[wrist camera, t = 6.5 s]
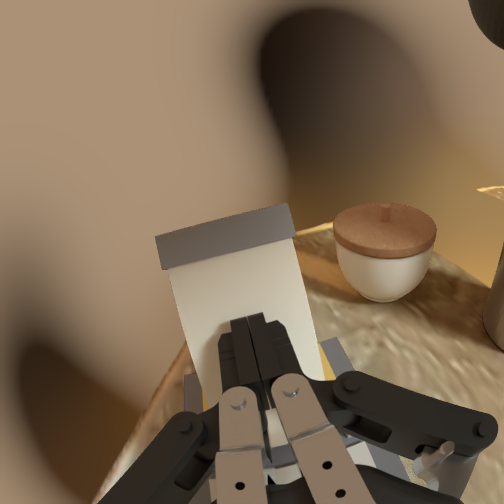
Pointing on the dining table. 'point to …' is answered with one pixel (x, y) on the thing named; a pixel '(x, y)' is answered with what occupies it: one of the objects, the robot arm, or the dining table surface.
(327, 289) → the dining table surface
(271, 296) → the lever
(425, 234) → the lidded jar
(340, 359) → the switch unit
